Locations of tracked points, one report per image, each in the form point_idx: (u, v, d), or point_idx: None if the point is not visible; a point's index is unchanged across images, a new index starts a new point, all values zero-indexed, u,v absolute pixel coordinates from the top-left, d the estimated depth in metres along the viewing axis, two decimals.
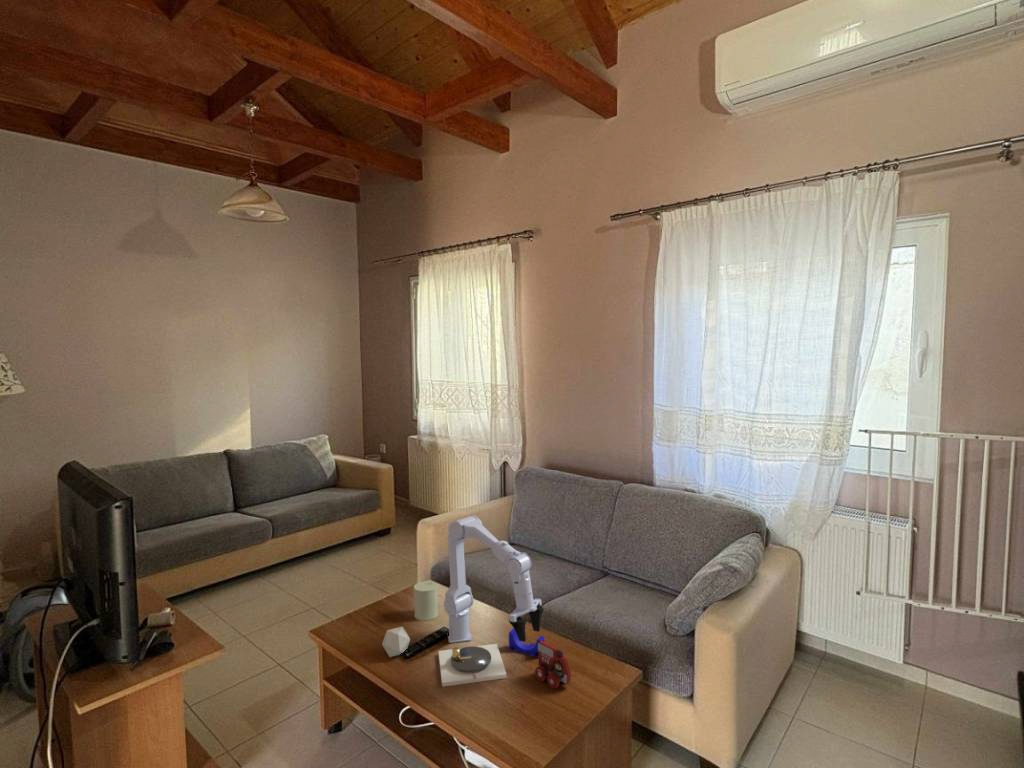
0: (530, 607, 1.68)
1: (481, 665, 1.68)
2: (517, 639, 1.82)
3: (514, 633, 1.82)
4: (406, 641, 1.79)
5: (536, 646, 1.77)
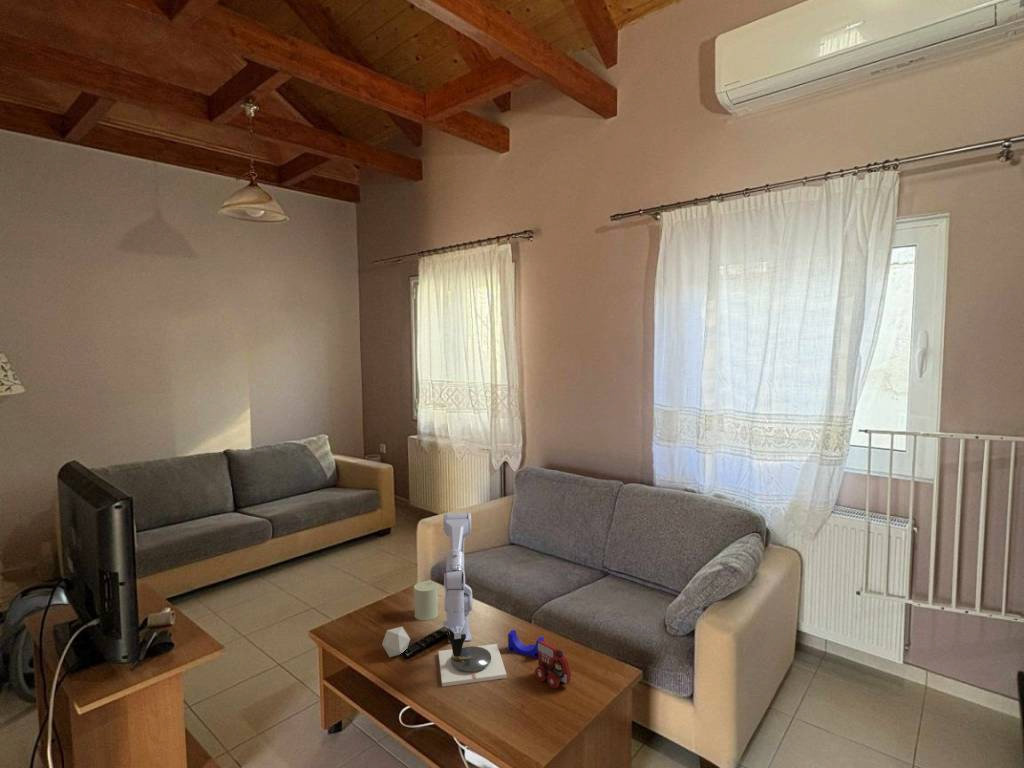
0: None
1: (481, 665, 1.68)
2: (516, 640, 1.81)
3: (513, 634, 1.81)
4: (406, 641, 1.79)
5: (536, 647, 1.76)
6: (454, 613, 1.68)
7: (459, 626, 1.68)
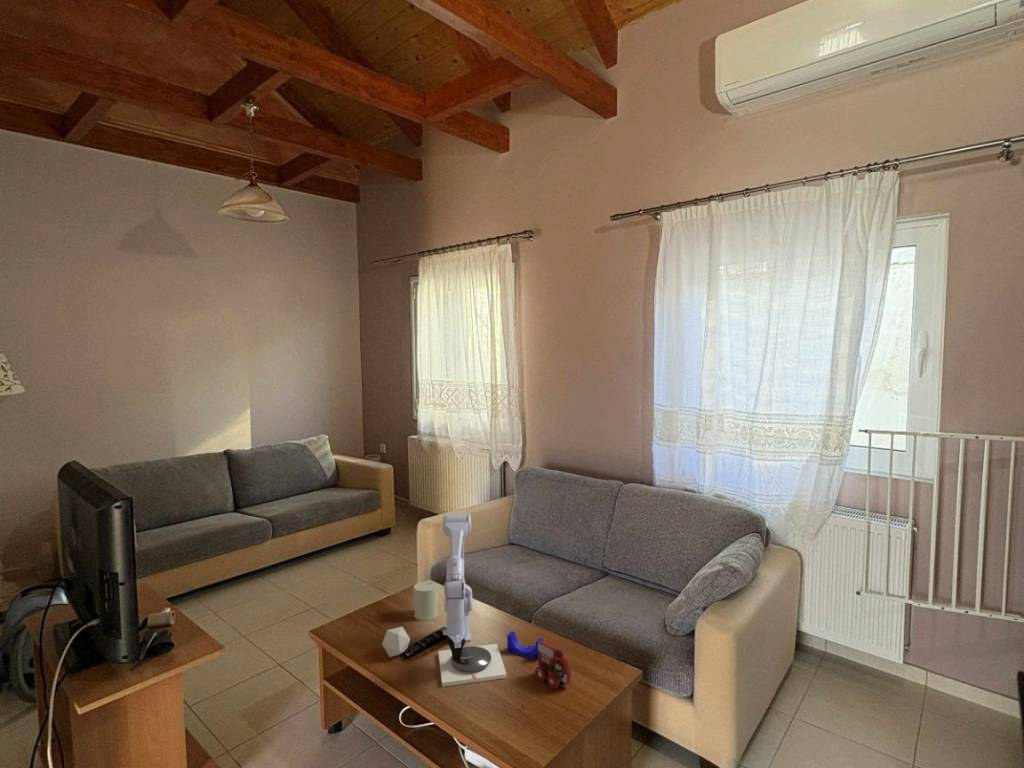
0: None
1: (481, 665, 1.68)
2: (515, 641, 1.80)
3: (512, 636, 1.80)
4: (406, 641, 1.79)
5: (535, 648, 1.75)
6: (454, 622, 1.68)
7: (459, 635, 1.68)
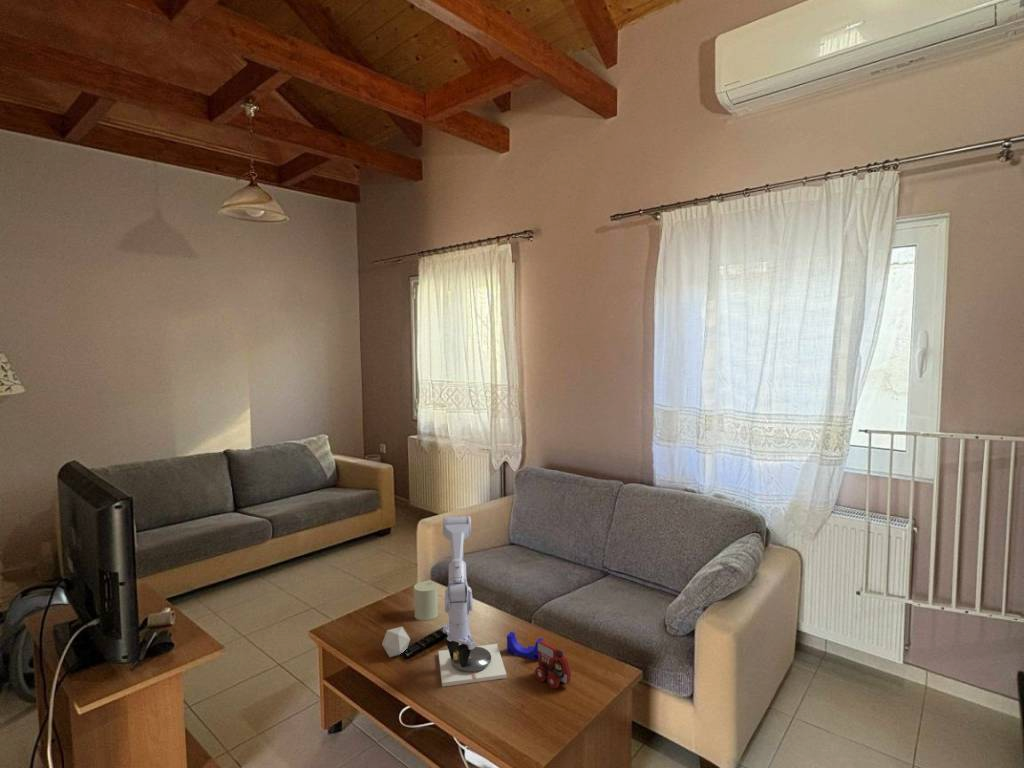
0: (450, 634, 1.67)
1: (484, 663, 1.69)
2: (515, 642, 1.80)
3: (512, 636, 1.80)
4: (406, 641, 1.79)
5: (535, 649, 1.75)
6: (462, 625, 1.66)
7: (466, 637, 1.67)
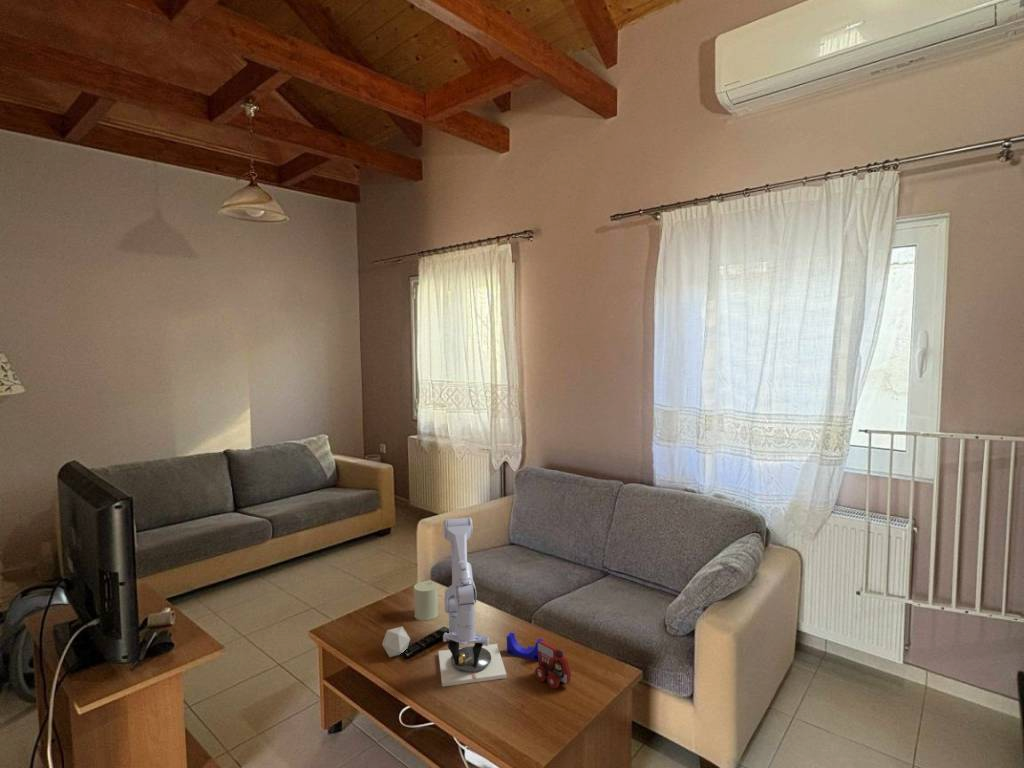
0: (461, 639, 1.65)
1: (488, 658, 1.71)
2: (515, 642, 1.80)
3: (512, 637, 1.80)
4: (406, 641, 1.79)
5: (535, 649, 1.75)
6: (474, 625, 1.66)
7: (475, 636, 1.68)
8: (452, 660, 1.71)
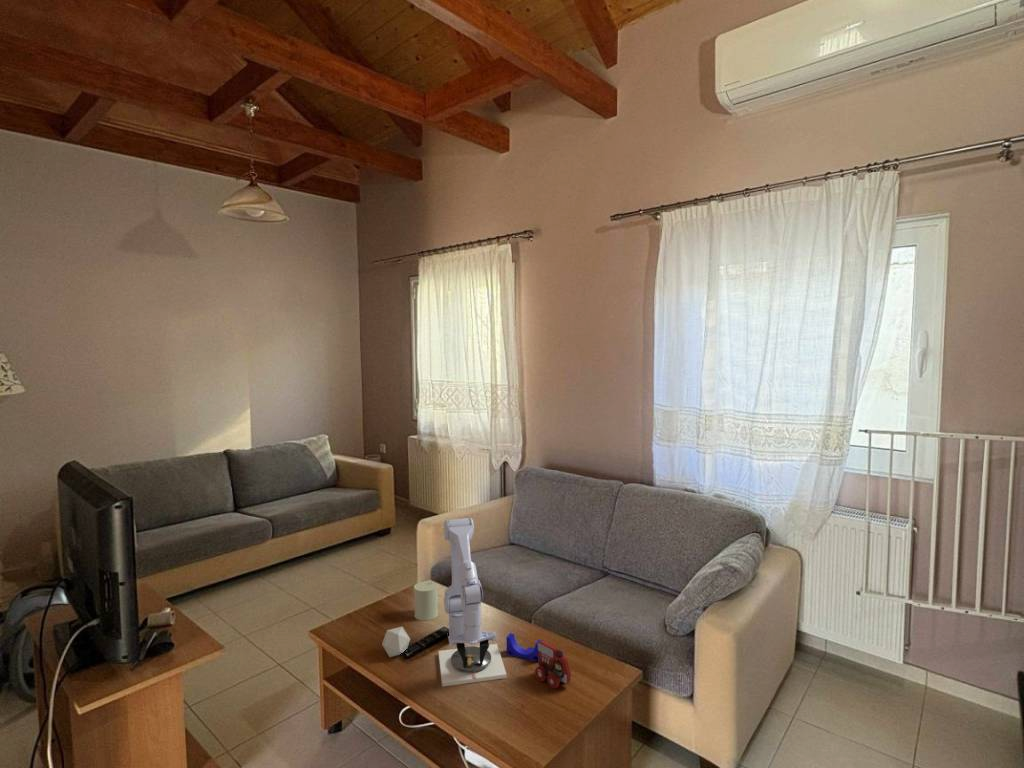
0: (470, 639, 1.64)
1: (487, 652, 1.75)
2: (514, 643, 1.79)
3: (512, 638, 1.79)
4: (406, 641, 1.79)
5: (535, 650, 1.74)
6: None
7: (481, 634, 1.69)
8: (457, 665, 1.68)
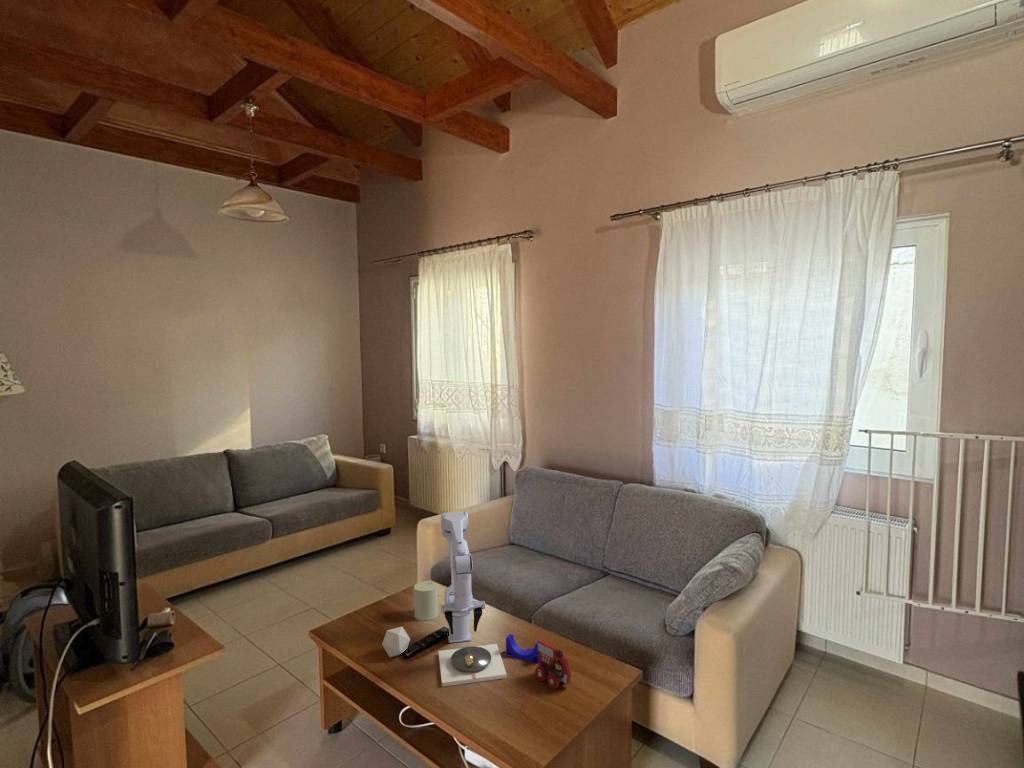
0: (461, 607, 1.72)
1: (487, 652, 1.75)
2: (514, 644, 1.79)
3: (511, 638, 1.78)
4: (406, 641, 1.79)
5: (534, 651, 1.74)
6: (471, 592, 1.75)
7: None
8: (457, 665, 1.68)
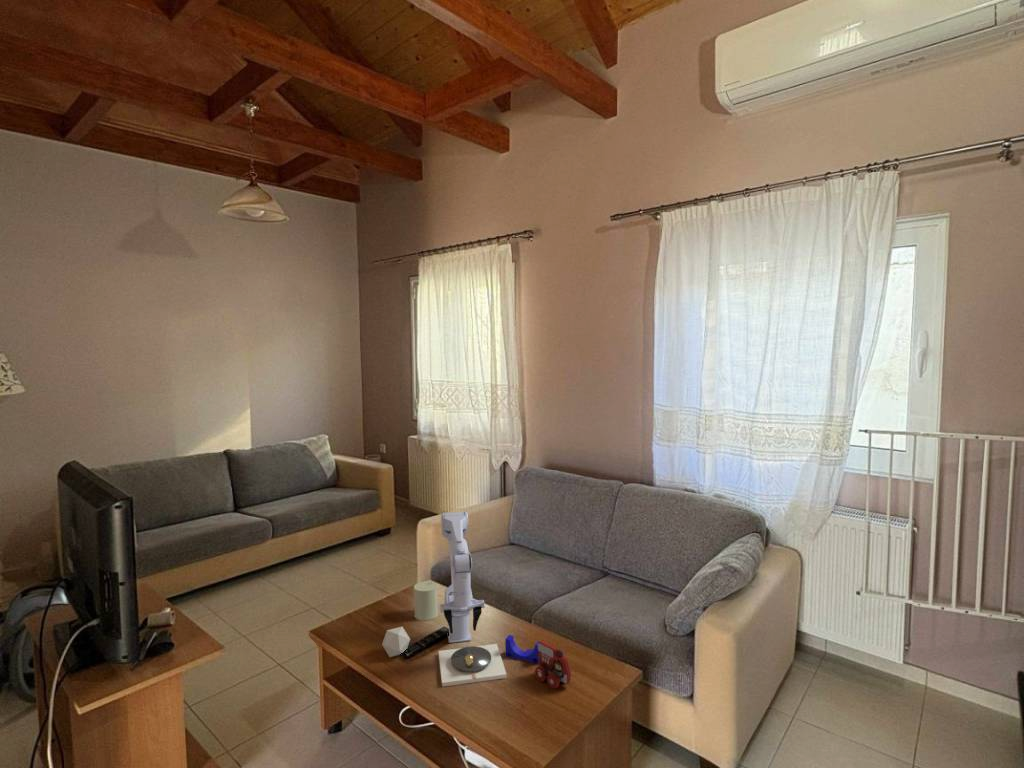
0: (460, 606, 1.73)
1: (487, 652, 1.75)
2: (513, 645, 1.78)
3: (511, 639, 1.78)
4: (406, 641, 1.79)
5: (534, 652, 1.73)
6: (470, 591, 1.76)
7: (470, 602, 1.77)
8: (457, 665, 1.68)
